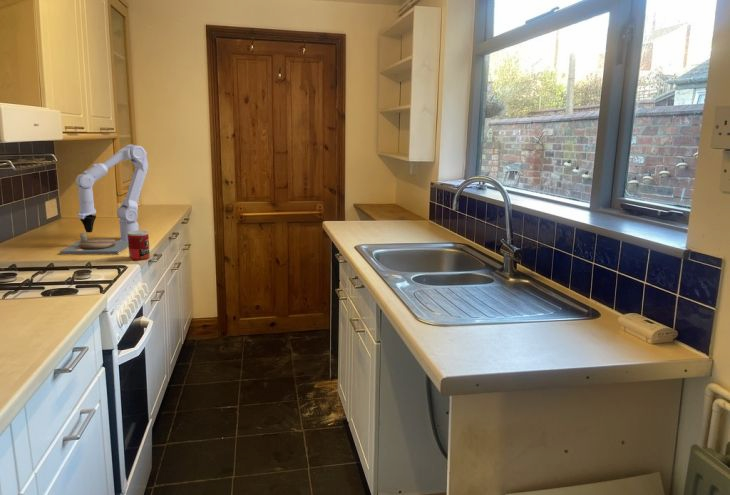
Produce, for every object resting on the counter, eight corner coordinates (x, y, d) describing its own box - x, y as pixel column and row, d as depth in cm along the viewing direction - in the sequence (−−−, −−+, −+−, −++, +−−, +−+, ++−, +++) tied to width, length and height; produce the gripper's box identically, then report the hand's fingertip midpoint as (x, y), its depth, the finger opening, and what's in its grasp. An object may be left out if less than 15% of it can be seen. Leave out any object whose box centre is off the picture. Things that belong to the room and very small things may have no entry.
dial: (87, 241, 245) (86, 230, 244) (119, 241, 247) (118, 230, 245) (73, 249, 232) (72, 237, 231) (108, 249, 233) (107, 237, 232)
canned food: (143, 261, 223) (141, 234, 220) (125, 259, 224) (123, 233, 222) (153, 256, 230) (152, 231, 228) (136, 255, 232) (134, 229, 229)
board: (79, 243, 248) (78, 240, 247) (132, 244, 250) (131, 240, 250) (60, 254, 229) (60, 250, 229) (117, 254, 232) (117, 250, 231)
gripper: (83, 199, 247) (86, 228, 251) (69, 204, 233) (72, 235, 237) (99, 199, 248) (102, 228, 251) (87, 204, 234) (90, 235, 237)
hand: (89, 232), depth 244 cm, fingers closed
